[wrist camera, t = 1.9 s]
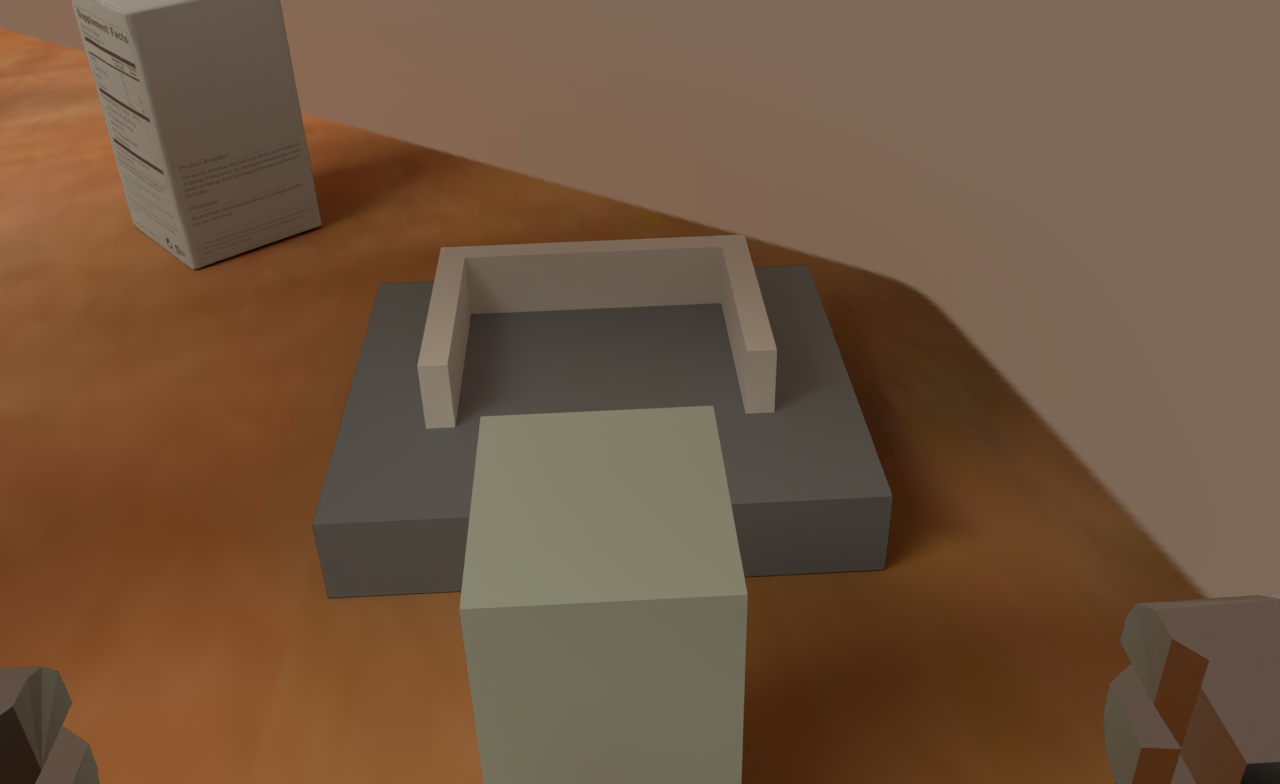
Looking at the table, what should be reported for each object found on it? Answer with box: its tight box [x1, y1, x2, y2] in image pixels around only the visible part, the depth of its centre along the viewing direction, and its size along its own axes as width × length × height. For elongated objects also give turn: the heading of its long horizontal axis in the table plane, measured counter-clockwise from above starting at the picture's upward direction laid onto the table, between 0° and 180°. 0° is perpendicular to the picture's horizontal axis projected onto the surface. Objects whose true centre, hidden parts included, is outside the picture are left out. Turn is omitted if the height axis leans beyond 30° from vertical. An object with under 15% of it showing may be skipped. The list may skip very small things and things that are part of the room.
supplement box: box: [71, 0, 322, 270], centre depth 60 cm, size 7×7×13 cm
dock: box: [312, 235, 893, 598], centre depth 45 cm, size 18×16×6 cm
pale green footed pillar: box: [459, 406, 748, 784], centre depth 27 cm, size 5×6×12 cm
